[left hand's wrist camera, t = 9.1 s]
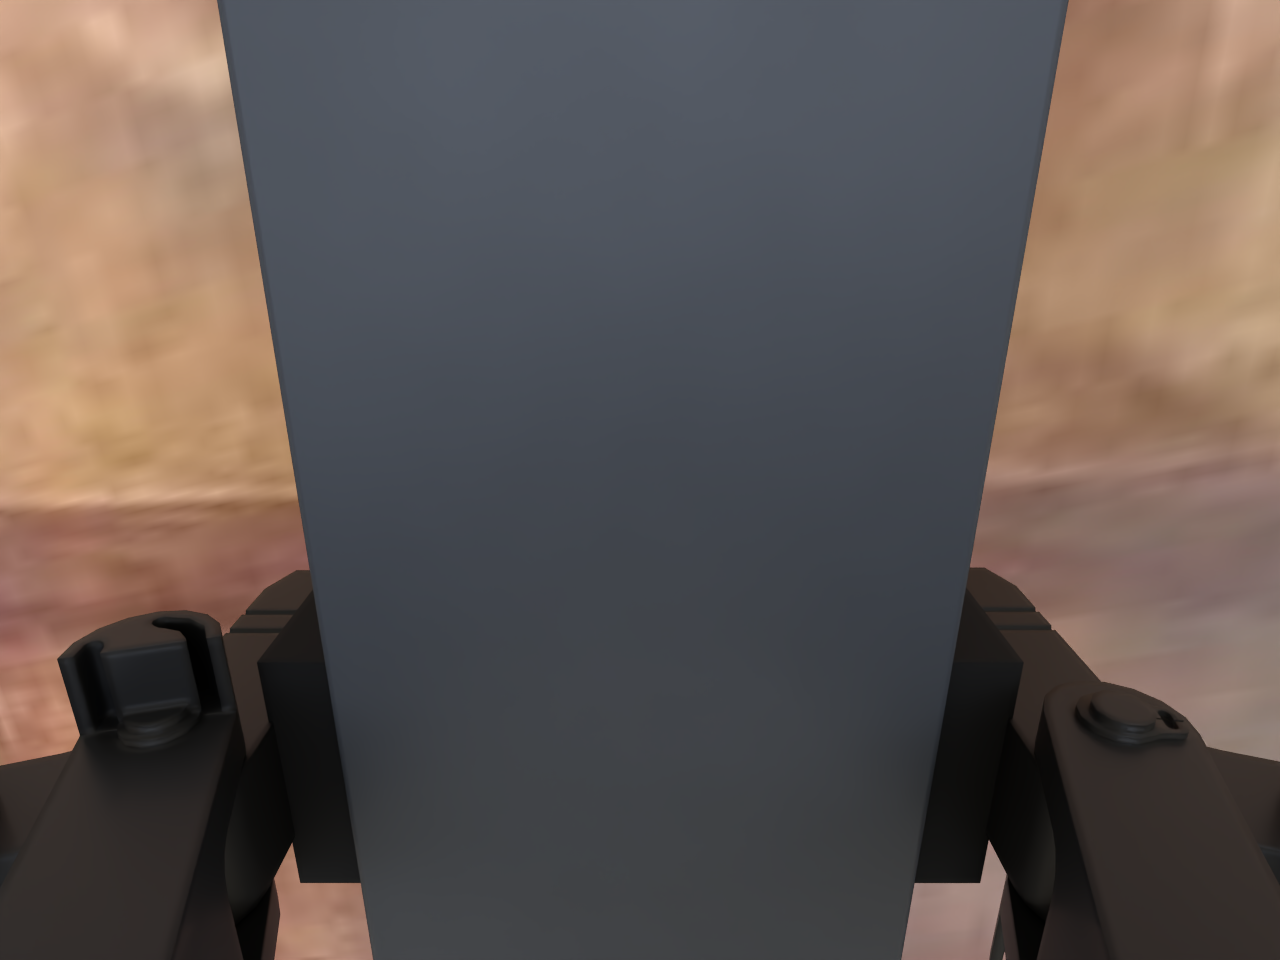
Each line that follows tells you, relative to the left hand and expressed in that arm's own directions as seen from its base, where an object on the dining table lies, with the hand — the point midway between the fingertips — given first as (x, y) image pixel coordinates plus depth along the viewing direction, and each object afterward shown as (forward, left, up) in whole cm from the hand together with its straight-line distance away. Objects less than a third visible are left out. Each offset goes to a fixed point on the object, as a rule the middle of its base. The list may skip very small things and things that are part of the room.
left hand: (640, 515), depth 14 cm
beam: (-29, +6, -1) cm, 30 cm away
